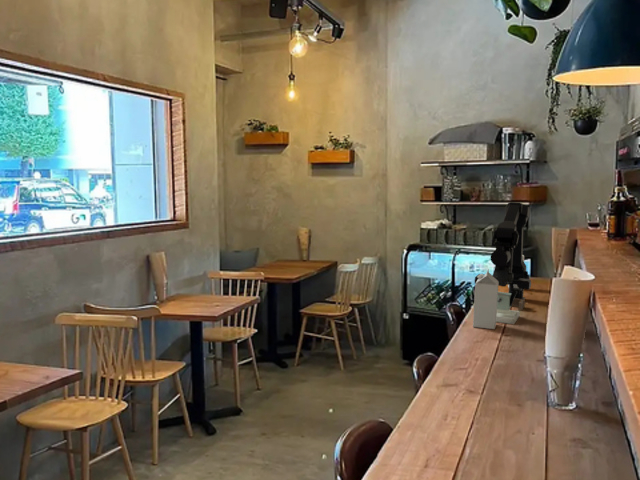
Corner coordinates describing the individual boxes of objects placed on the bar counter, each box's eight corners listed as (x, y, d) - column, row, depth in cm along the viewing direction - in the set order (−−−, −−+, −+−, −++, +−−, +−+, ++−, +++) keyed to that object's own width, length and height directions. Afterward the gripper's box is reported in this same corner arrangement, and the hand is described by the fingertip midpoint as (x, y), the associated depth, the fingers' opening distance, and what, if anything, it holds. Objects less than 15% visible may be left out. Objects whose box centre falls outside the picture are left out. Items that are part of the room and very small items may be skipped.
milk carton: (495, 324, 208) (499, 269, 206) (494, 329, 202) (498, 273, 199) (474, 322, 211) (477, 268, 208) (472, 327, 204) (476, 271, 201)
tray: (486, 312, 225) (487, 307, 224) (519, 316, 220) (519, 311, 219) (479, 319, 214) (480, 314, 214) (513, 324, 209) (514, 318, 209)
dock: (496, 303, 239) (497, 296, 239) (524, 307, 234) (524, 299, 234) (493, 307, 233) (493, 299, 233) (521, 310, 228) (522, 303, 228)
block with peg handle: (494, 304, 222) (495, 291, 221) (511, 306, 219) (512, 293, 219) (489, 309, 214) (490, 295, 214) (507, 312, 212) (508, 297, 211)
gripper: (472, 262, 212) (469, 306, 214) (528, 268, 204) (525, 313, 206) (479, 258, 222) (476, 300, 224) (532, 263, 214) (529, 306, 216)
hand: (501, 305), depth 217 cm, fingers closed on block with peg handle, 6 cm apart
